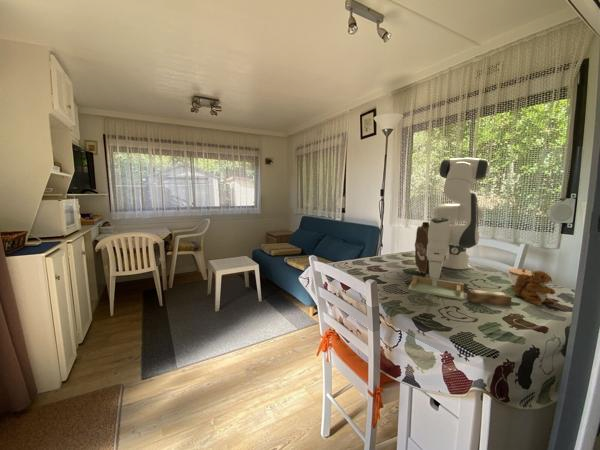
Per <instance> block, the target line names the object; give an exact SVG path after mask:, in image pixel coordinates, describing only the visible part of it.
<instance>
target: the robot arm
mask: <svg viewBox="0 0 600 450" xmlns="http://www.w3.org/2000/svg"><path fill="white" fill-rule="evenodd" d="M489 171H490V163H489V161H488V159H486V158H474V157H457V158H451V157H450V158H446V159H443V160H441V163H440V165H439V167H438V173H439V176H440V177H441V178H442V179H443V178H444V179H445V182H444V185H443V195H444V196H445V198H447V199H448V200H449V201H451V202H453V203H442V204H438V205H437V206H435V208H434V209H433V216H434V218H432V219H430V221H429V229H428V245H427V257H428V258H427V260H429V274H428V275H429V278H432V286H437V280H440V277H441V273H442V269H443V268H447V269H454V270H469V269H470V270H471V269H473V268H472V265H470V263H469V261H470V260H469V257H470V255H469V253H467V249H470V248H473V247H475V246H477V245H478V244H479V240H480V234H479V221H481V220H482V219H483V217H484V214H485V212H484V208H483V207H482V206H481V205H480V204H478V197H477V195H476V193H474V192H473V191H474V185H475V181H476V180H483V179H484V178H485V177H486V176H487V175H488V174H489ZM456 223H465V224H462V225H461V224H460V225H459V224H456Z"/></svg>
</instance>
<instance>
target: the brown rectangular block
mask: <svg viewBox="0 0 600 450" xmlns="http://www.w3.org/2000/svg"><path fill="white" fill-rule="evenodd" d="M466 293H467V294H466V298H467V299H468V300H469V301H470V302H472V303H481V304H490V305H500V306H512V300H513V299H512V296H511V295H510V294H509V293H507V292H504V291H494V290H492V291H491V290H484V289H483V290H482V289H473V288H467V291H466Z"/></svg>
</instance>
